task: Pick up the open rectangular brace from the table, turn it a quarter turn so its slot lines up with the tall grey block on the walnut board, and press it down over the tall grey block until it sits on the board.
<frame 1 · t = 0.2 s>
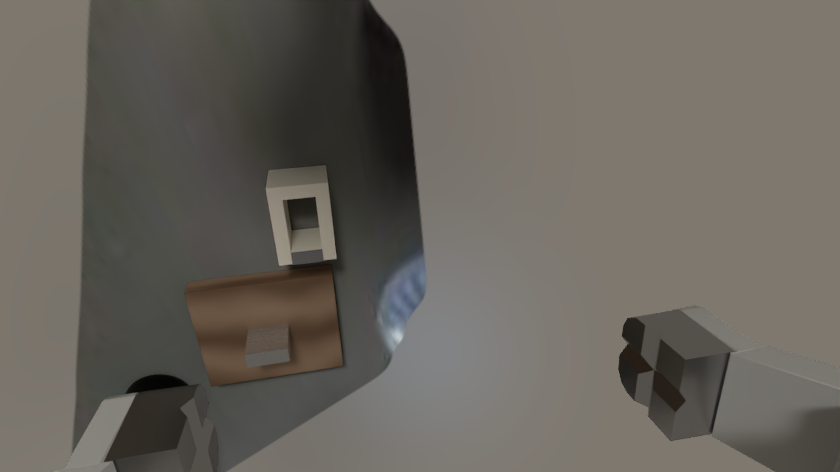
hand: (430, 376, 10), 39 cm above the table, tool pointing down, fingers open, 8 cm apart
supplement bottle: (161, 394, 56), on the table
open rectangular brace: (302, 204, 49), on the table
board: (270, 320, 54), on the table
tall grey block: (268, 344, 50), on the board, point 4 cm above the table
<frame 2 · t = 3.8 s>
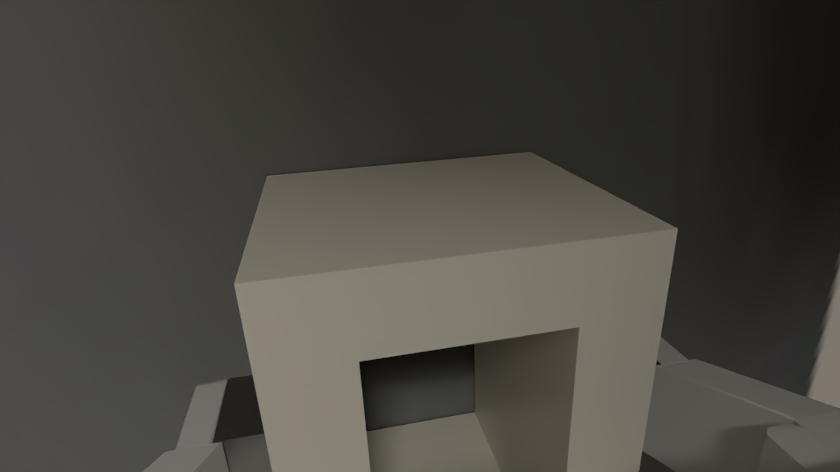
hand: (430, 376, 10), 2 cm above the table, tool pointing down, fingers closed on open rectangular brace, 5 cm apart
open rectangular brace: (413, 330, 11), on the table, touching gripper
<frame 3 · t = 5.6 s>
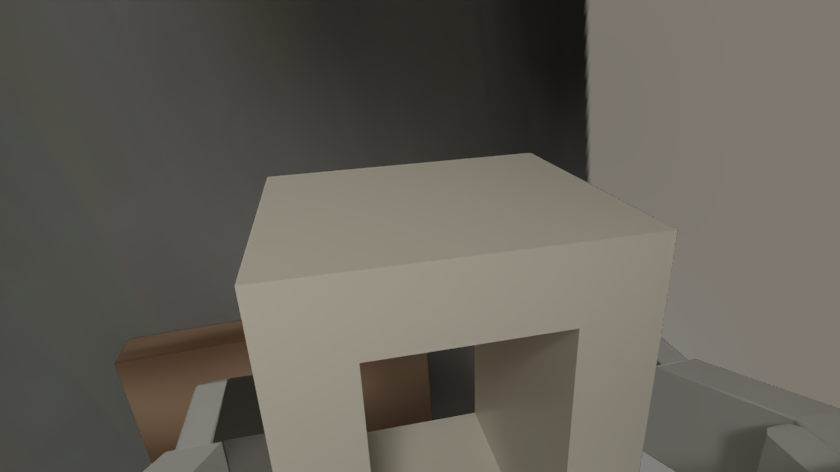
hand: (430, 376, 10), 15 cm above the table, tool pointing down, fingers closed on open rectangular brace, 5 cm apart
open rectangular brace: (414, 331, 11), point 13 cm above the table, touching gripper
board: (298, 408, 28), on the table
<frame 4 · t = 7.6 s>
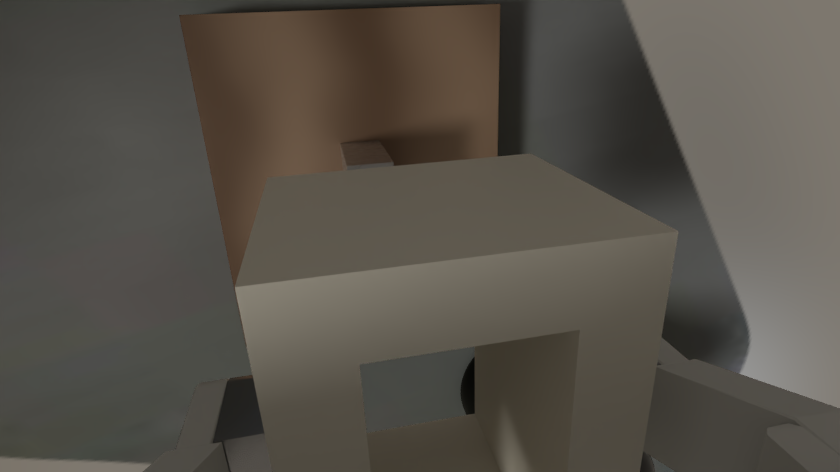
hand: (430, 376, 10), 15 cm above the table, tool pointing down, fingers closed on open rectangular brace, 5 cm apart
supplement bottle: (512, 375, 30), on the table
open rectangular brace: (414, 331, 11), point 13 cm above the table, touching gripper
board: (359, 176, 23), on the table
tall grey block: (368, 202, 20), on the board, point 4 cm above the table
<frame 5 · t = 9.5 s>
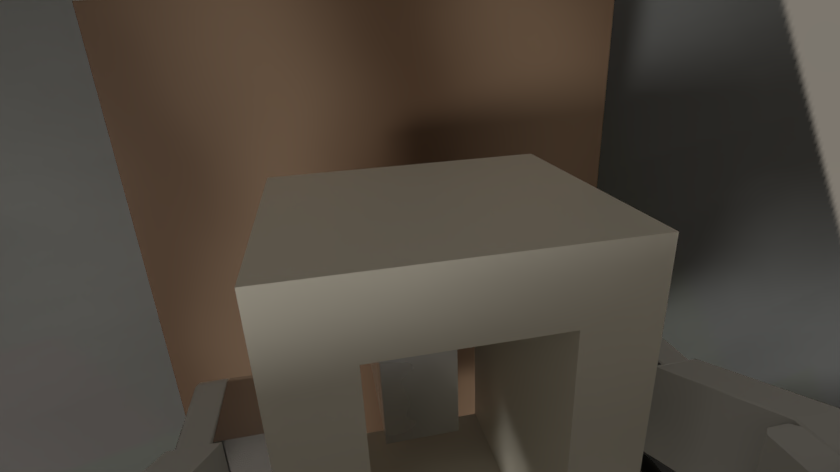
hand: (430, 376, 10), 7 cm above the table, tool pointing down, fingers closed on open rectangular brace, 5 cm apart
open rectangular brace: (414, 332, 11), point 5 cm above the table, touching gripper
board: (380, 246, 16), on the table
tall grey block: (402, 311, 12), on the board, point 4 cm above the table
when the fingers open (4 cm above the table, at t = 11.3 s): open rectangular brace stays where it is, resting on board.
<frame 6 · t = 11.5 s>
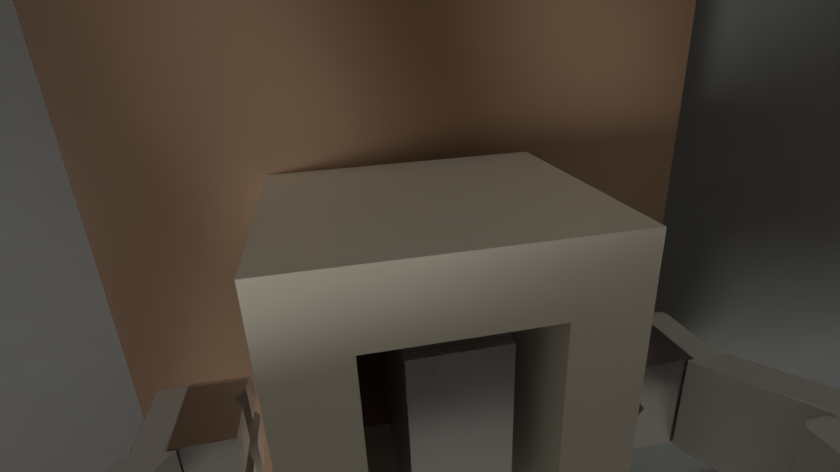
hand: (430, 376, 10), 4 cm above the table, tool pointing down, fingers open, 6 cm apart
open rectangular brace: (411, 327, 11), point 2 cm above the table, touching board
board: (399, 285, 13), on the table
tall grey block: (433, 380, 10), on the board, point 4 cm above the table
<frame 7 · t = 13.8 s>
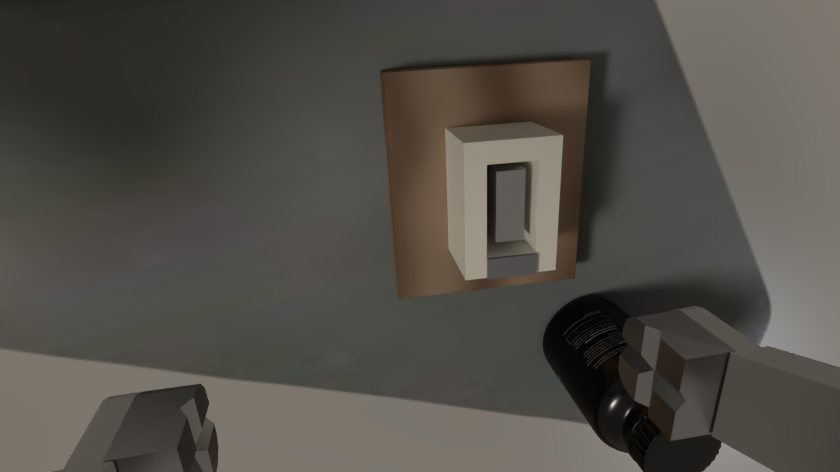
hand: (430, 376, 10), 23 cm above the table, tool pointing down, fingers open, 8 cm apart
supplement bottle: (581, 332, 39), on the table
open rectangular brace: (488, 187, 31), point 2 cm above the table, touching board
board: (480, 178, 33), on the table
tall grey block: (499, 196, 29), on the board, point 4 cm above the table
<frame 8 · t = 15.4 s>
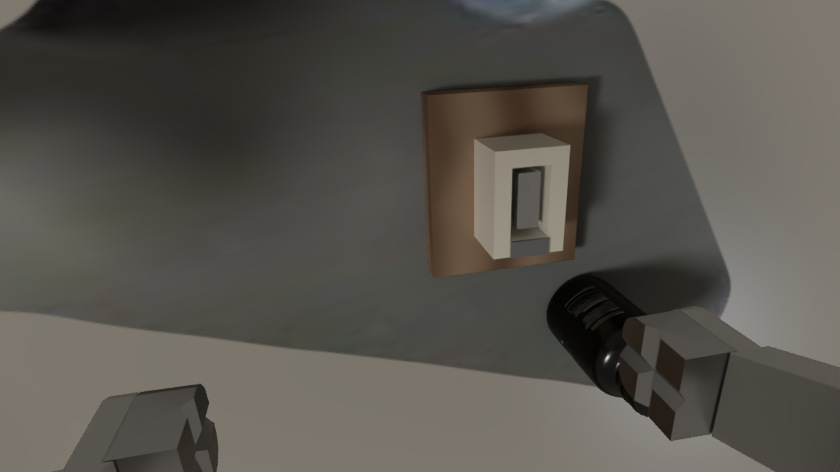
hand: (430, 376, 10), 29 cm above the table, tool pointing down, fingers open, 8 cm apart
supplement bottle: (577, 305, 47), on the table
open rectangular brace: (507, 185, 38), point 2 cm above the table, touching board
board: (498, 178, 40), on the table
tall grey block: (517, 192, 36), on the board, point 4 cm above the table
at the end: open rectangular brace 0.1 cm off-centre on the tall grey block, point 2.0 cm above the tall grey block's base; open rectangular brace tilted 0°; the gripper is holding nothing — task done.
